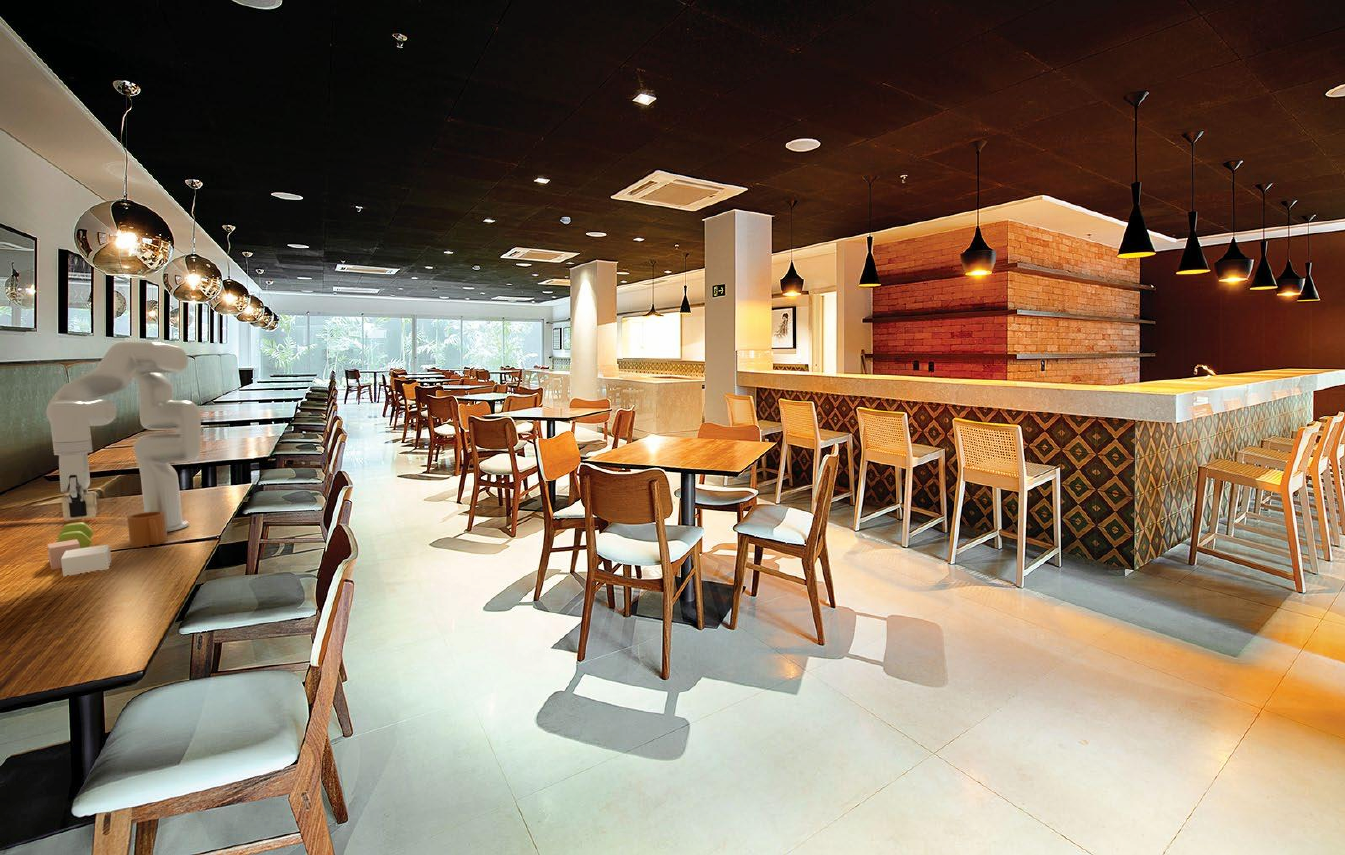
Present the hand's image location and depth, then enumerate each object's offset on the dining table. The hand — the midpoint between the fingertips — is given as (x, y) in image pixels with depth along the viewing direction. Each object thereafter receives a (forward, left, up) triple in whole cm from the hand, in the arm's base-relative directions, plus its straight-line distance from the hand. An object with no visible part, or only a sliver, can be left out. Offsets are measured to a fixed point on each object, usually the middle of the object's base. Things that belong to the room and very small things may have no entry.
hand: (80, 513), depth 171 cm
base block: (0, 0, -16) cm, 16 cm away
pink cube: (-8, -5, -15) cm, 18 cm away
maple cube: (0, 0, -1) cm, 1 cm away
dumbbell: (-23, -5, -16) cm, 28 cm away
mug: (-18, +12, -15) cm, 27 cm away
